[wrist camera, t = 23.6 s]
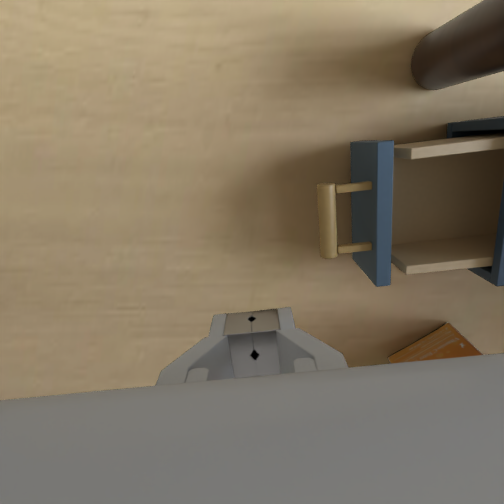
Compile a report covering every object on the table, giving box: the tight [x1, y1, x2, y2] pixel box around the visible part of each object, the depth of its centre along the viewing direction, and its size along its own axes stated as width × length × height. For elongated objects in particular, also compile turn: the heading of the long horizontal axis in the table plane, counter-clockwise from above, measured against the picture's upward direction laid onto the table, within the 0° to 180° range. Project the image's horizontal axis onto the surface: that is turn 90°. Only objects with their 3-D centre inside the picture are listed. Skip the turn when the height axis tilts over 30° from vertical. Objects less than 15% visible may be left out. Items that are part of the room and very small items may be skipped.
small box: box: [388, 323, 483, 364], centre depth 32 cm, size 8×6×13 cm
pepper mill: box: [411, 0, 504, 90], centre depth 21 cm, size 5×5×15 cm
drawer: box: [317, 132, 504, 287], centre depth 28 cm, size 19×11×7 cm, turn 97°
